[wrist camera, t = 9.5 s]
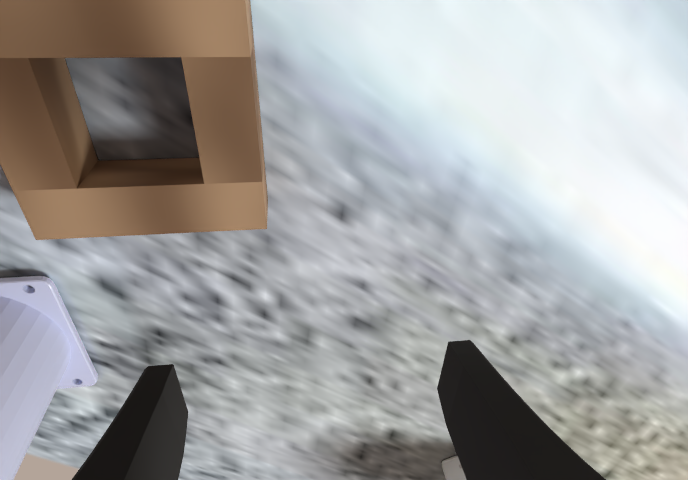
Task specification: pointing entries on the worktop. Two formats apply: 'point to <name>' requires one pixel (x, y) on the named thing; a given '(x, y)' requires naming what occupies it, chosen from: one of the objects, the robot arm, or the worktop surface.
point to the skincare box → (453, 469)
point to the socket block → (142, 174)
